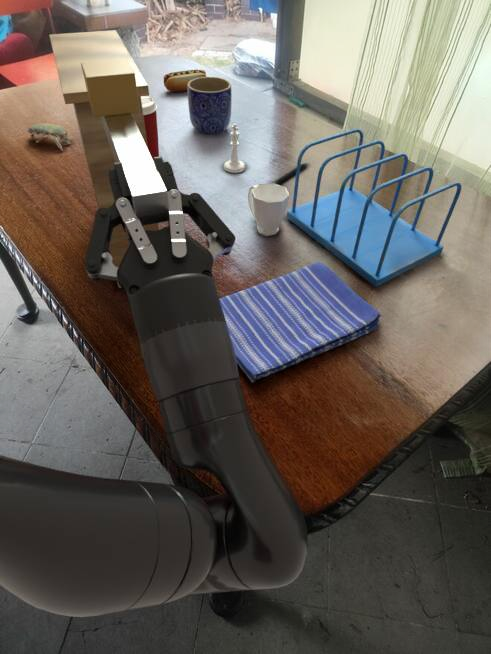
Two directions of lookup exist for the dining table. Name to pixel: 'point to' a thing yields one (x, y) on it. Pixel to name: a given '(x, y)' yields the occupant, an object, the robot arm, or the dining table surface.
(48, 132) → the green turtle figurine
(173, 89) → the hot dog
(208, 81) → the planter
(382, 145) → the file sorter
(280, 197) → the cup
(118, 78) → the mallet
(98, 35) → the stand
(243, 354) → the dish towel
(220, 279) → the dining table surface
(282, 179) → the pen
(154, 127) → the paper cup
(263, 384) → the dining table surface
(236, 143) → the chess piece
